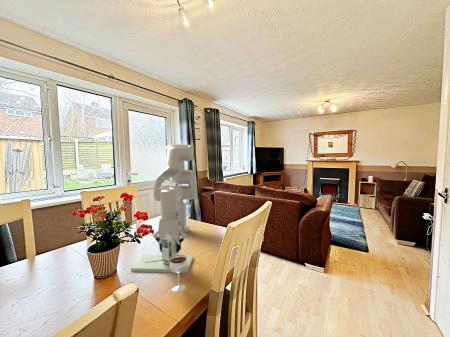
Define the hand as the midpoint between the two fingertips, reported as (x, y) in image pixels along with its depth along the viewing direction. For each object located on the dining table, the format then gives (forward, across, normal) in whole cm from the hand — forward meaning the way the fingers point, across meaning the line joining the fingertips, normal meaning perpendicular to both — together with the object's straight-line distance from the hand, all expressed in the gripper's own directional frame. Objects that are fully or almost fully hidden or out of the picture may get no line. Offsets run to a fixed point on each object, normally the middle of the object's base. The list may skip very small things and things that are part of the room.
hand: (170, 250), depth 94 cm
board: (+7, +3, 0) cm, 8 cm away
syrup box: (+5, 0, 0) cm, 5 cm away
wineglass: (+7, -9, +16) cm, 20 cm away
